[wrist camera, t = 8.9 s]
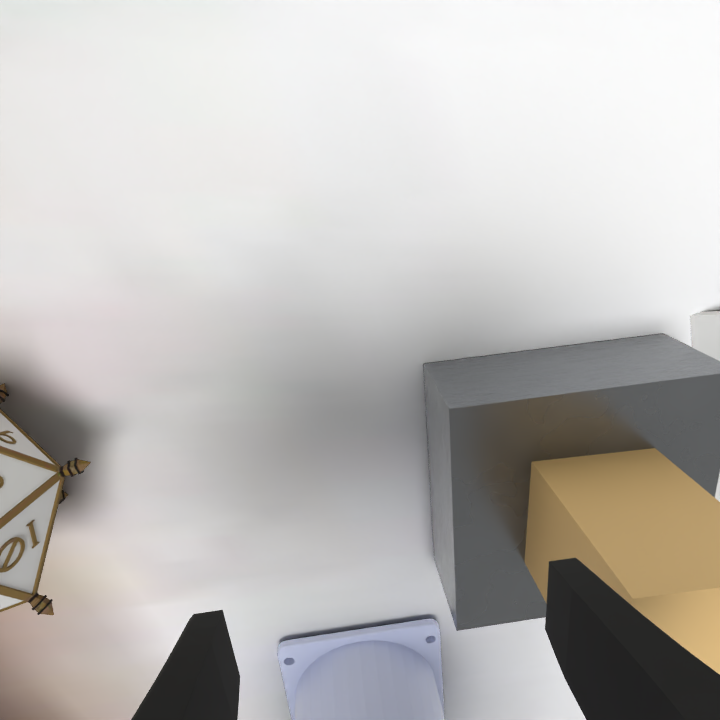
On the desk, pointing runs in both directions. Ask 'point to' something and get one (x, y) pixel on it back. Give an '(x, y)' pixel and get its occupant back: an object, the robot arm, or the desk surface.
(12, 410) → the desk surface
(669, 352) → the charcoal stand
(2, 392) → the game die
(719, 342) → the grey v-shaped trough
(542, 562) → the ochre block
